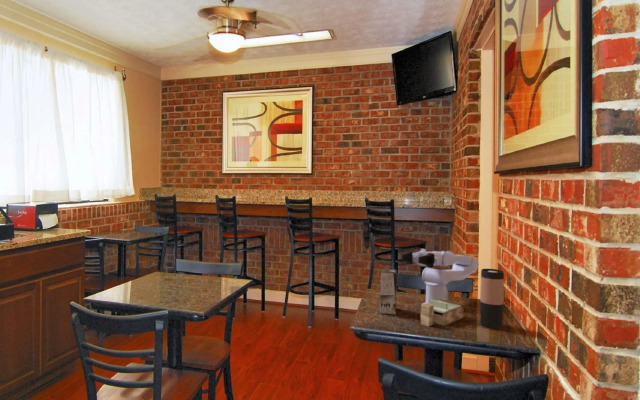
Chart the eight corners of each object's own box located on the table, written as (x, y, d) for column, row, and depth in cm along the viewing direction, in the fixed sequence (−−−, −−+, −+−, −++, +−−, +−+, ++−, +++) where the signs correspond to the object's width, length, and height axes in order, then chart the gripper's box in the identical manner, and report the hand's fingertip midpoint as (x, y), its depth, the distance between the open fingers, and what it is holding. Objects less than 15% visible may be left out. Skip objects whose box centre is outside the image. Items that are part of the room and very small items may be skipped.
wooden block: (425, 322, 138) (425, 303, 138) (433, 324, 135) (433, 305, 135) (420, 324, 136) (421, 304, 136) (428, 326, 133) (429, 306, 133)
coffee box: (396, 314, 146) (397, 273, 146) (379, 313, 147) (380, 272, 147) (396, 308, 155) (397, 269, 155) (380, 307, 156) (381, 268, 156)
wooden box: (439, 311, 151) (439, 298, 151) (462, 318, 144) (463, 303, 144) (420, 318, 142) (420, 304, 142) (444, 325, 134) (445, 310, 134)
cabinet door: (438, 301, 150) (438, 295, 150) (460, 307, 143) (461, 300, 143) (421, 307, 141) (421, 300, 141) (444, 313, 135) (444, 306, 135)
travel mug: (474, 323, 137) (476, 269, 137) (490, 321, 140) (491, 268, 140) (491, 330, 130) (493, 273, 130) (507, 328, 133) (509, 271, 133)
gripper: (414, 247, 162) (396, 246, 153) (445, 250, 152) (428, 250, 142) (413, 263, 162) (394, 263, 152) (444, 268, 151) (426, 269, 142)
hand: (410, 258), depth 147 cm, fingers open, 7 cm apart
